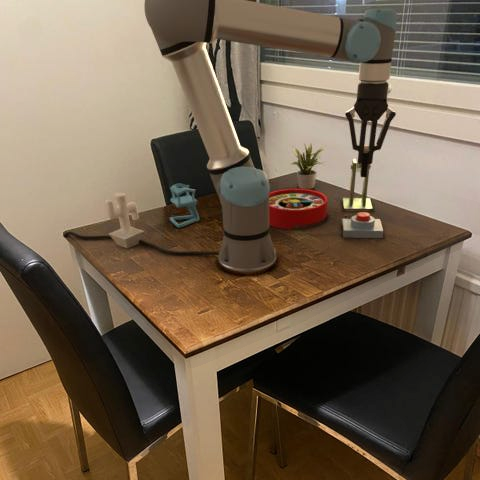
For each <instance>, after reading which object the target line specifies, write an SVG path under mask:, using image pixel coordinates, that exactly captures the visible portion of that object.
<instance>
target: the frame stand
mask: <svg viewBox="0 0 480 480" xmlns="http://www.w3.org/2000/svg"><path fill="white" fill-rule="evenodd" d="M357 162H358V161H357V159H356V158H352V162H351V164H350V170H351V175H350V186H349V197H342V204H343V209H350V210H351V209H352V210H353V209H356V210H357V209H359V210H361V209H364V210H365V209H366V210H368V209H369V210H372V209H373V205H372V201H371V198H370V197H368V196H367V195H368V187H369V185H368V184H369V177H370V176H369V175H370V170H371V168H372V164H368V168H367V177H363V180H362V181H363V182H362V191H361V197H355V187H356V176H357Z"/></svg>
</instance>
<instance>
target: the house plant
mask: <svg viewBox="0 0 480 480" xmlns="http://www.w3.org/2000/svg"><path fill="white" fill-rule="evenodd" d="M303 144H304V148H305V152H303V153H302V154H301V153H300V150H299V149H298V148H296V147H295V146H293V145H292V146H291V147H292V148H293V149H294V151H295V152H294V151H292V154H293V155H295V157H296V158H297V159H298V160H297V161H293V162H291V165H296V166H297V167H298V168H299V170H298V171H296V177H297V187H298V189H307V190H312V189H314V187H315V185H316V178H317V171H316V170H315V169H313V167H315V166H316V165H318V164H319V165H321V164H322V165H323V166H325V163H327V162H325V161H323V162H319V159H320V158H321V154H320V153H321V152H323V151H325V149H324V148H326V147H327V146H326V145H325V146H322V147H320V148H319V149H318V150H316V152H314V153H312V152H313V144H312V143H310V144H309V146H308V148H307V146H306V143H303ZM319 165H318V166H319Z"/></svg>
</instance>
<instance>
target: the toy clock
mask: <svg viewBox="0 0 480 480" xmlns="http://www.w3.org/2000/svg"><path fill="white" fill-rule="evenodd" d="M327 215H328V197H327V196H326V195H325V194H323V193H322V192H320V191H316V190H312V189H302V188H287V189H285V188H284V189H278V190H275V191H270V193H269V226H271V227H274V228H278V229H284V230H294V227H295V226H297V227H298V226H299V227H300V226H307V225H313V224H316V223H319V222H321V221H323V220H325V218H326V217H327Z"/></svg>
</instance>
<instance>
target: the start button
mask: <svg viewBox="0 0 480 480" xmlns="http://www.w3.org/2000/svg"><path fill="white" fill-rule="evenodd" d="M356 215H357V219H356V220H358V221H369V218H370V216H371V214H370V212H366V211H360V212H357V213H356Z"/></svg>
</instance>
